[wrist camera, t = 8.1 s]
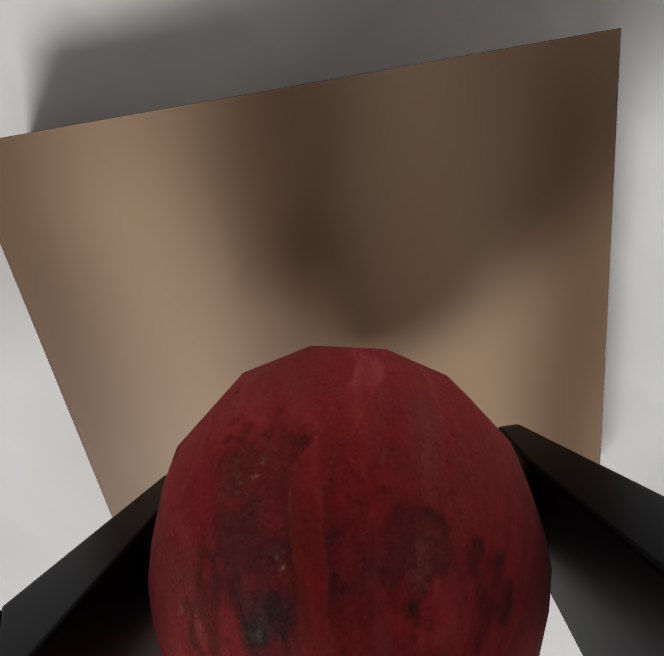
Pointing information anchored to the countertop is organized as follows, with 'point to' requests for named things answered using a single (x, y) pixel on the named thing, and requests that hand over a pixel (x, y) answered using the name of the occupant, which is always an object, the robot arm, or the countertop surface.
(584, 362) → the walnut block
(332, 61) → the countertop surface
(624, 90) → the countertop surface
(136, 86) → the countertop surface
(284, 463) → the red round fruit
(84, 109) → the countertop surface
